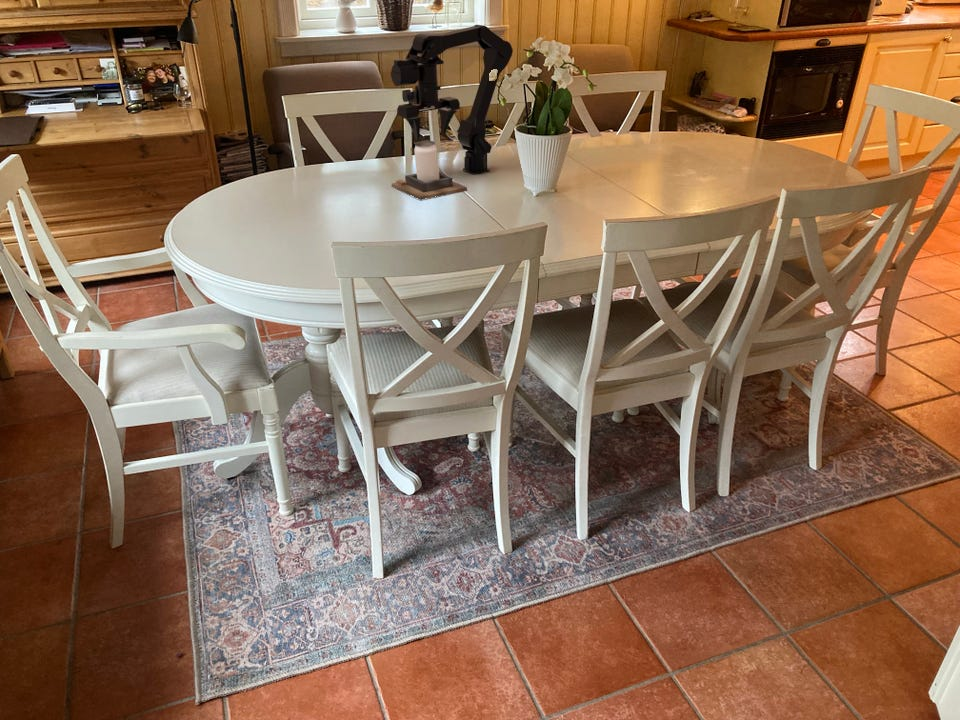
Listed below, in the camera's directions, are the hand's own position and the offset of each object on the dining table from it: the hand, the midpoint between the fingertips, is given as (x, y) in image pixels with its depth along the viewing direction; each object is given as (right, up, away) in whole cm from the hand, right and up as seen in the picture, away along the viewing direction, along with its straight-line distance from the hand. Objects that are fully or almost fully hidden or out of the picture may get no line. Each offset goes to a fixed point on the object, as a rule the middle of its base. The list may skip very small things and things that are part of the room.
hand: (430, 137), depth 223 cm
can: (0, -15, -2) cm, 15 cm away
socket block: (0, -16, -2) cm, 16 cm away
